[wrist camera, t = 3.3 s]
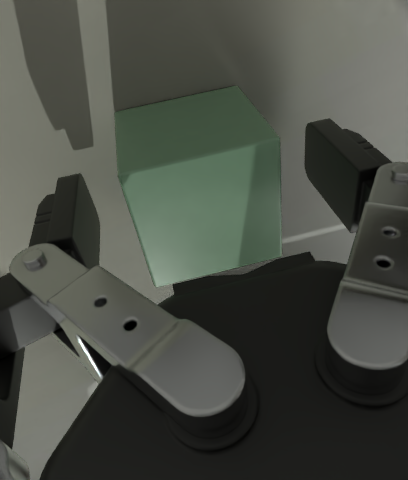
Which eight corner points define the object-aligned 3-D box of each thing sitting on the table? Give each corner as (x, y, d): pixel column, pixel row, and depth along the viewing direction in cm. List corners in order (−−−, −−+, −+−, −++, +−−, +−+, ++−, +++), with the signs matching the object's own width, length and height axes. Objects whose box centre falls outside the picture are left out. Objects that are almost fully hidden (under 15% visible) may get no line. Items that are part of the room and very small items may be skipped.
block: (144, 213, 16) (154, 289, 13) (113, 111, 13) (116, 174, 10) (246, 189, 16) (283, 257, 13) (237, 84, 14) (281, 136, 10)
